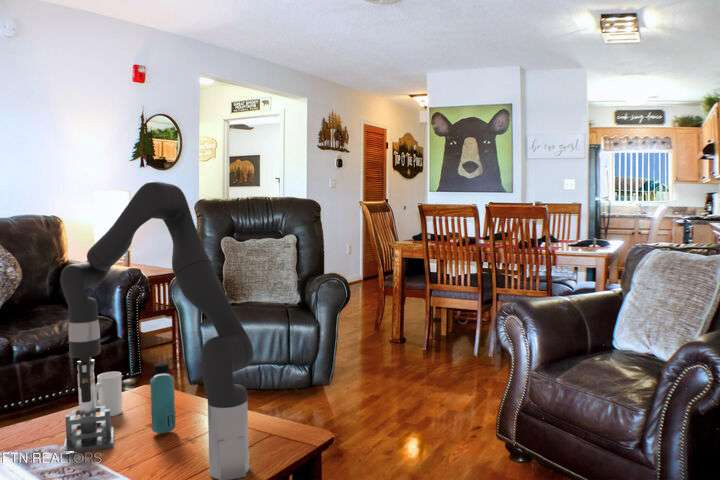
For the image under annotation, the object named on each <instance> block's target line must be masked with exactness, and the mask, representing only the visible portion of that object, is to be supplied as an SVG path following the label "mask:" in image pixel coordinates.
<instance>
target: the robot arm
mask: <svg viewBox="0 0 720 480" xmlns="http://www.w3.org/2000/svg"><path fill="white" fill-rule="evenodd" d="M190 209H191V208H190V206H189V203H188V201H187V198H186V195H185V194H184V192H183V190H182V189H181V188H180V187H179V186H177V185H174V184H171V183H167V182H161V181H157V180H155V181H154V180H152V181H147V182H145V183H143V185H141V186H140V187H139V189H138V190H137V191H136V192H135V194H134V195H133V196H132V197H131V199H130V201H129V202H128V204H127V205H126V206H125V208H124V209H123V210H122V212H121V213H120V215H119V216H118V217H117V219H116V221H115V222H114V223H113V224H112V226H111V227H110V228H109V229H108V230H107V232H105V234H103V235H102V236H101V237H100V238H99V239H98V240H97V242H95V243H94V244H93V245H92V246H91V247H90V248H89V250H88V251H87V254H86V261H83V262H77V263H71V264H67V265H66V266H65V267H64V268H63V269H62V270H61V273H60V279H59V280H60V286H61V290H62V292H63V295H64V298H65V301H66V305H67V306H68V344H69V345H68V346H69V349H68V350H69V351H68V352H69V357H71V358H74V359H77V358H78V359H80V360H78V361H77V364H76V368H77V369H76V370H77V371H78V373H77V380H78V379H79V381H80V385H79V387H80V388H81V396H82V402H83V403H85V402H90V401H91V380H92V379H93V371H94V372H95V359H93V357H96V356H97V355H98V356H99V354H100V353H101V352H102V351H101V350H102V349H101V329H100V322H99V309H98V308H99V306H98V302H97V299H96V298H94V297H89V296H87V292H86V290H87V289H91V288H94V287H97V286H98V285H99V284H100V283H101V282H103V280H105V278H106V276H107V275H108V273H109V272H110V270H111V268H112V267H113V266H114V265H115V264H116V263H117V262H118V261H119V260H120V259H121V258H122V257H123V256H124V255H125V254H126V253H127V252H128V250H129V249H130V247H131V245H132V242H133V239H134V235H135V234H136V232H137V231H138V229H140V227H142V225H144V224H146V223H147V222H148V221H150V220H152V219H154V220H155V219H157V220H158V219H159V220H163V222H164V224H165V225H166V227H167V228H166V229H167V230H168V232H169V234H170V238H171V241H172V255H171V266H172V267H171V269H172V272H173V275H174V278H175V280H176V282H177V285H178V287H179V289H180V291H181V293H182V295H184V297H185V298H186V299H187V301H189V303H191V304H192V305H193V306H194V307H195V308H196V309H198V310H199V311H200V312H201V313H202V314H204V316H206V317H207V319H208V320H209V321H210V322H211V323H212V326H213V327H214V330H215V331H216V334H217V336H214V337H211V338H209V339H207V340H206V341H205V342H204V344H203V347H202V351H201V367H202V380H203V382H202V383H203V388H204V392H205V395H206V397H207V421H208V422H207V427H208V428H207V429H208V430H207V431H208V457H209V458H208V461H209V475H210V477H212V478H214V479H215V480H235V479H241V478H246V477H247V473H248V472H249V471H250V461H249V459H250V458H249V454H250V453H249V452H250V451H249V423H248V422H249V417H248V416H249V415H248V414H249V413H248V411H249V409H248V408H249V407H248V390H247V388H246V387H245V386H244V385H241V384H238V383H234V373H235V372H238V371H240V370H243V369H245V368H247V367H249V366H250V365H251V364H252V362H253V359H254V349H253V345H252V341H251V339H250V337H249V336H248V333H247V332H246V330H245V328H244V327H243V325H242V323H241V321H240V320H239V318H238V316H237V315H236V313H235V311H234V309H233V307H232V305H231V304H230V301H229V299H228V297H227V294H226V293H225V290H224V289H223V287H222V284H221V283H220V280H219V277H218V275H217V273H216V270H215V268H214V266H213V264H212V262H211V259H210V257H209V255H208V253H207V251H206V249H205V246H204V244H203V241H202V240H201V237H200V234H199V232H198V230H197V228H196V225H195V222H194V219H193V216H192V212H191V210H190ZM84 380H88V383H83V381H84Z"/></svg>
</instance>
